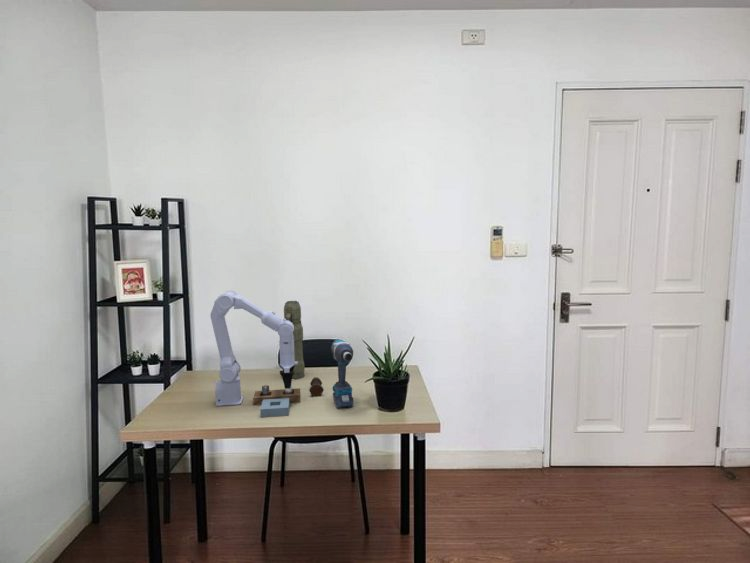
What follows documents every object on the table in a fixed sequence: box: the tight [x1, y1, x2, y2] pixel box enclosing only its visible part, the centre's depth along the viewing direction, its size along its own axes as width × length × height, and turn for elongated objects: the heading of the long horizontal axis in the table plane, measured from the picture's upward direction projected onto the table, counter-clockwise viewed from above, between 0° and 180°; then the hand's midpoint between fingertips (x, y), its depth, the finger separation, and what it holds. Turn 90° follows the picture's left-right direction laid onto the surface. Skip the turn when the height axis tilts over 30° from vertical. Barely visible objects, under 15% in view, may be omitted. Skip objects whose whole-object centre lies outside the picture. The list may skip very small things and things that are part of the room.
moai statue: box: [283, 300, 306, 380], centre depth 224 cm, size 9×12×35 cm
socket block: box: [259, 398, 291, 418], centre depth 185 cm, size 10×10×3 cm
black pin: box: [261, 384, 270, 396], centre depth 195 cm, size 3×3×6 cm
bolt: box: [308, 376, 324, 398], centre depth 207 cm, size 6×5×15 cm
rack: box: [252, 388, 301, 406], centre depth 196 cm, size 18×8×3 cm, turn 98°
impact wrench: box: [330, 338, 354, 409], centre depth 188 cm, size 8×23×25 cm, turn 16°
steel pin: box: [284, 381, 293, 394], centre depth 196 cm, size 3×3×7 cm
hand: (288, 384), depth 196 cm, fingers open, 7 cm apart
